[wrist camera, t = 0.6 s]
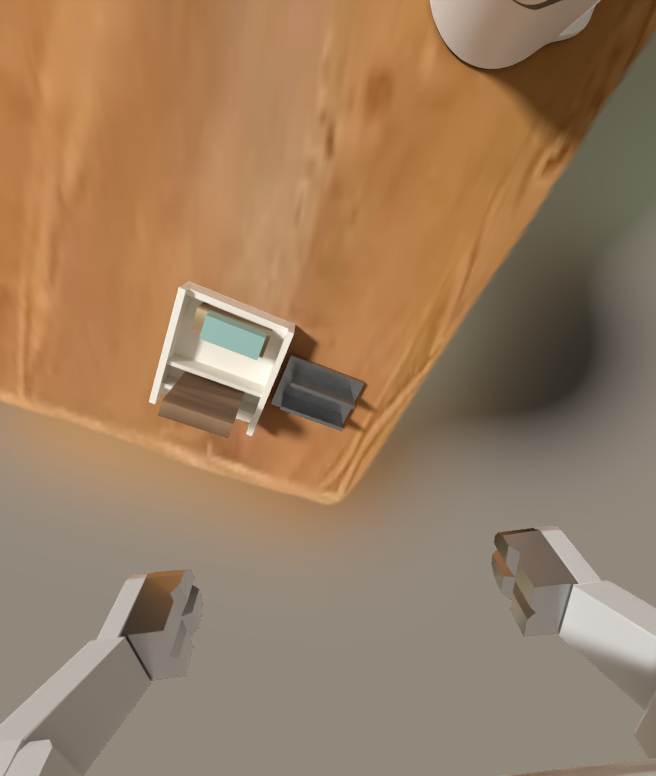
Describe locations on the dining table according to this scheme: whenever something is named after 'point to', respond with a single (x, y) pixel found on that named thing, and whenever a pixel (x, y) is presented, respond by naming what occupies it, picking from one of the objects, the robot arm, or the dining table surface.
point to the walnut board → (202, 404)
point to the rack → (221, 352)
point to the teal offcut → (232, 335)
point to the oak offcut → (206, 308)
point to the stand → (316, 392)
